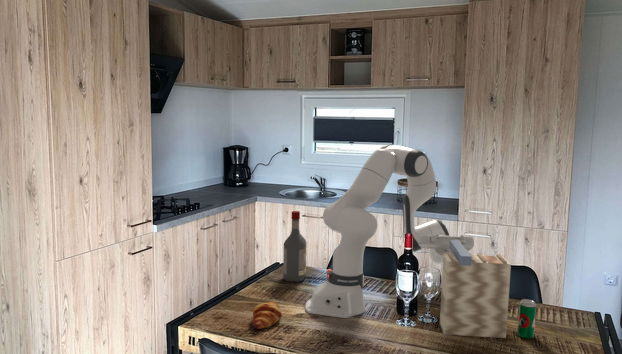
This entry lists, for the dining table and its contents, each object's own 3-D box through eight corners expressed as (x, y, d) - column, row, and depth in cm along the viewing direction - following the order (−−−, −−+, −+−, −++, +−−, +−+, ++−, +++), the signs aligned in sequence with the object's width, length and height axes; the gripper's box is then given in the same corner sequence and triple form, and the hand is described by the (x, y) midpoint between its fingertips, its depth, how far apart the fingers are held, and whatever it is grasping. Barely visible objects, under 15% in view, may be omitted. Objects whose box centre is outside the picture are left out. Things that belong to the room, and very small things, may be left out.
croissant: (268, 317, 186) (259, 298, 186) (291, 307, 184) (282, 288, 184) (249, 340, 166) (239, 319, 166) (275, 330, 163) (265, 308, 164)
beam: (460, 265, 159) (461, 256, 159) (449, 247, 181) (449, 239, 181) (471, 265, 159) (471, 256, 159) (458, 248, 181) (458, 240, 180)
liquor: (282, 281, 217) (283, 213, 214) (286, 274, 226) (287, 209, 223) (302, 282, 216) (304, 214, 212) (306, 276, 225) (307, 210, 221)
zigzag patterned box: (443, 334, 167) (447, 258, 164) (439, 323, 175) (443, 251, 172) (505, 338, 165) (511, 261, 162) (498, 326, 173) (503, 254, 170)
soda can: (535, 340, 163) (538, 304, 162) (519, 338, 164) (521, 303, 163) (531, 333, 168) (534, 299, 167) (515, 332, 169) (518, 298, 168)
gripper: (417, 238, 204) (421, 228, 192) (468, 239, 202) (476, 229, 190) (418, 253, 202) (422, 244, 189) (470, 254, 200) (477, 245, 187)
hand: (449, 236), depth 190 cm, fingers open, 8 cm apart
